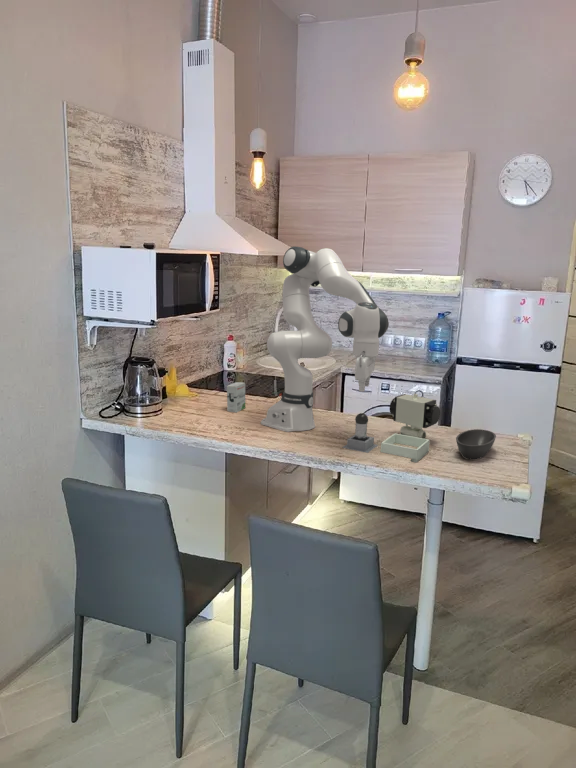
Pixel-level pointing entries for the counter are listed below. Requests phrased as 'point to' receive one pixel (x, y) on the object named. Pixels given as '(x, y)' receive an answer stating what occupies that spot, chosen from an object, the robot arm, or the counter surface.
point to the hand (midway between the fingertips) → (364, 388)
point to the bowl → (475, 443)
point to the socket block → (360, 444)
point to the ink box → (236, 397)
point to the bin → (405, 451)
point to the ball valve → (414, 414)
